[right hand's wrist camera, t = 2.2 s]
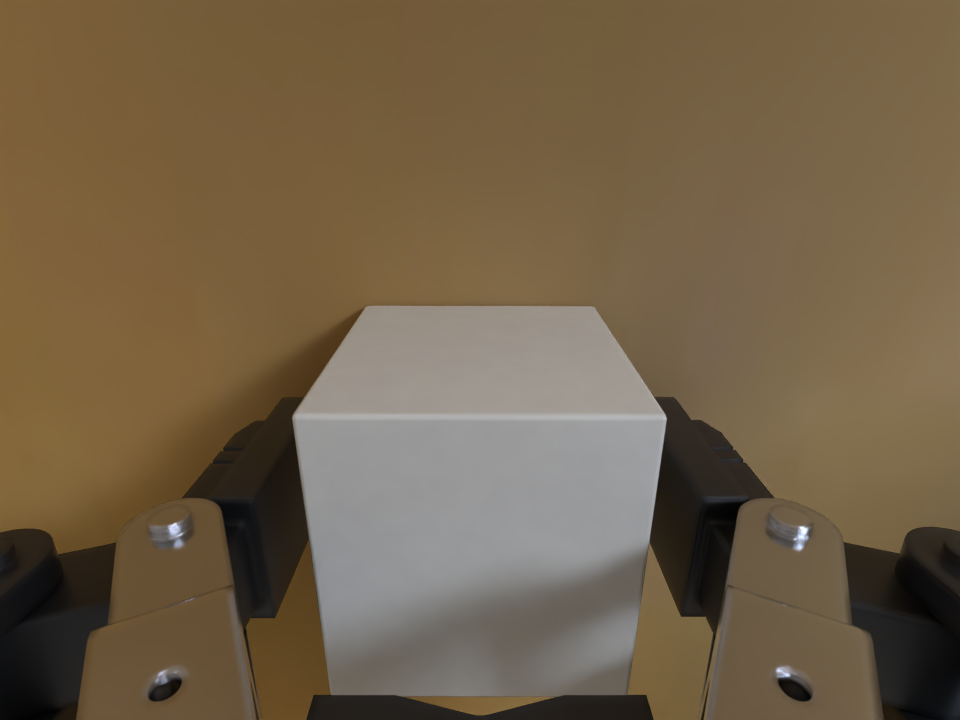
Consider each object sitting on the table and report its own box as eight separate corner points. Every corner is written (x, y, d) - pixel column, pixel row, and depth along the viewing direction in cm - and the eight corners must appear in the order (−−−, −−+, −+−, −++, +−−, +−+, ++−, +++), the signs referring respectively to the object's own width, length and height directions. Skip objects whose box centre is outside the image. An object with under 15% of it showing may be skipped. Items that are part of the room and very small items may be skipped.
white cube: (380, 507, 13) (329, 699, 9) (365, 304, 11) (289, 415, 7) (578, 507, 13) (628, 699, 9) (594, 305, 11) (669, 416, 7)
